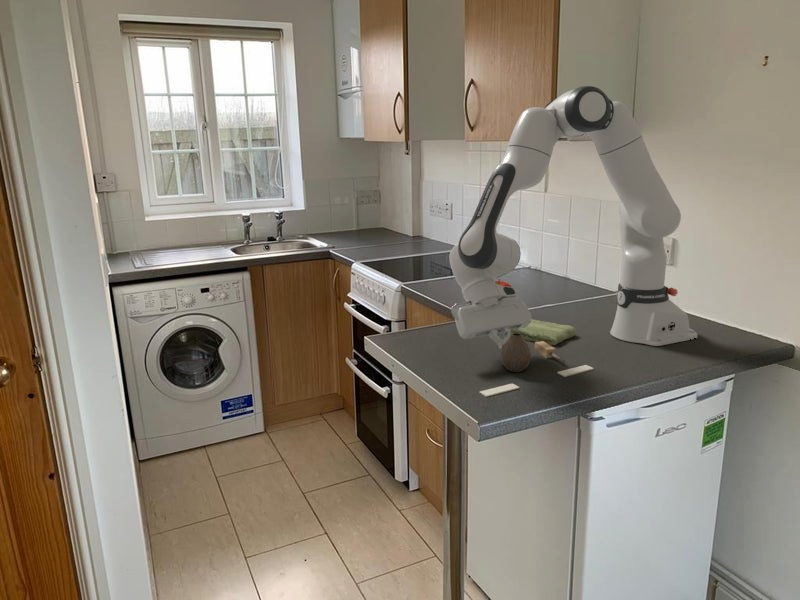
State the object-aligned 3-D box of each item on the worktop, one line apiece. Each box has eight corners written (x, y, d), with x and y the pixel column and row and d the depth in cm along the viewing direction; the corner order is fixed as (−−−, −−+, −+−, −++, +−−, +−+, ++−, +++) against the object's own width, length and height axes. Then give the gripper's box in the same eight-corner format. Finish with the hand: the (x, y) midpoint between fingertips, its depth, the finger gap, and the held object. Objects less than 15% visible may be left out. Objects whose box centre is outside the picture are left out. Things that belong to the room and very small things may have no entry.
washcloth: (523, 324, 181) (524, 314, 180) (578, 337, 169) (578, 326, 168) (497, 335, 172) (498, 324, 171) (553, 349, 160) (554, 337, 159)
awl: (534, 350, 158) (534, 342, 157) (542, 349, 159) (543, 341, 158) (559, 366, 147) (559, 357, 146) (567, 365, 148) (568, 356, 147)
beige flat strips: (585, 366, 147) (586, 364, 147) (593, 369, 144) (593, 368, 144) (479, 392, 133) (479, 391, 133) (485, 397, 131) (485, 395, 131)
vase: (512, 361, 151) (513, 327, 148) (535, 368, 146) (537, 334, 143) (495, 369, 146) (495, 334, 144) (518, 376, 141) (520, 341, 139)
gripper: (453, 298, 147) (475, 348, 141) (521, 287, 156) (545, 334, 150) (443, 311, 152) (464, 360, 146) (510, 300, 161) (532, 346, 155)
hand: (506, 347), depth 148 cm, fingers closed, pressing on vase
